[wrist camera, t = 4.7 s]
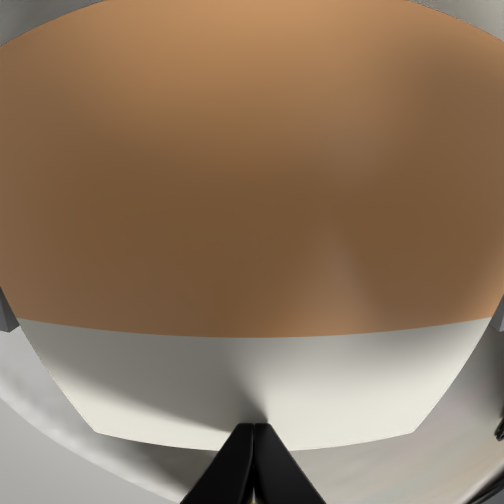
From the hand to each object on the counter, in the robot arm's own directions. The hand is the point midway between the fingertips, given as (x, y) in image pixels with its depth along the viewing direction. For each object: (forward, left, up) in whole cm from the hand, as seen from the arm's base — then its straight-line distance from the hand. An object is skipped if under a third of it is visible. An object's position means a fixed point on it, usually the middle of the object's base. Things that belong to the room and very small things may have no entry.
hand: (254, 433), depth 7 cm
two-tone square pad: (0, -4, 0) cm, 4 cm away
